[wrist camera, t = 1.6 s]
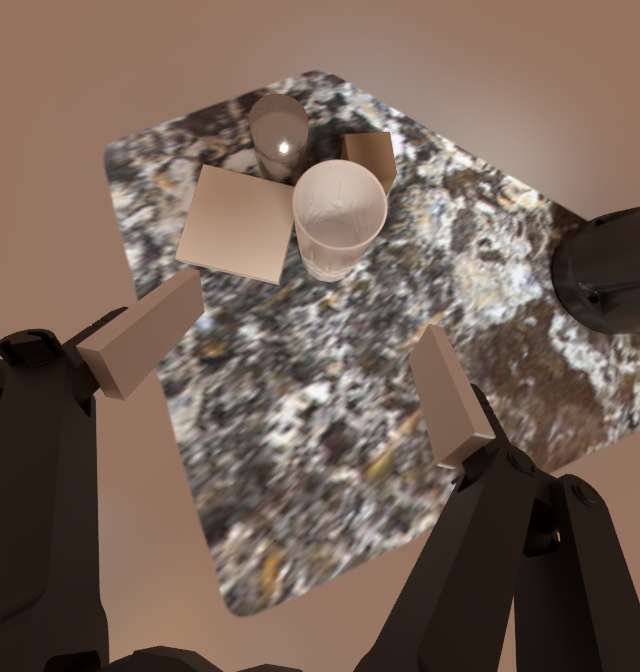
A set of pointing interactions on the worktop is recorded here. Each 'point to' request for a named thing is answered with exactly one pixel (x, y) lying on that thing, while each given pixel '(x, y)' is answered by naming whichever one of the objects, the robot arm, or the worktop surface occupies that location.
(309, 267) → the white cup
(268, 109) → the grey tin
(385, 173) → the walnut block
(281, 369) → the worktop surface
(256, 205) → the tile
